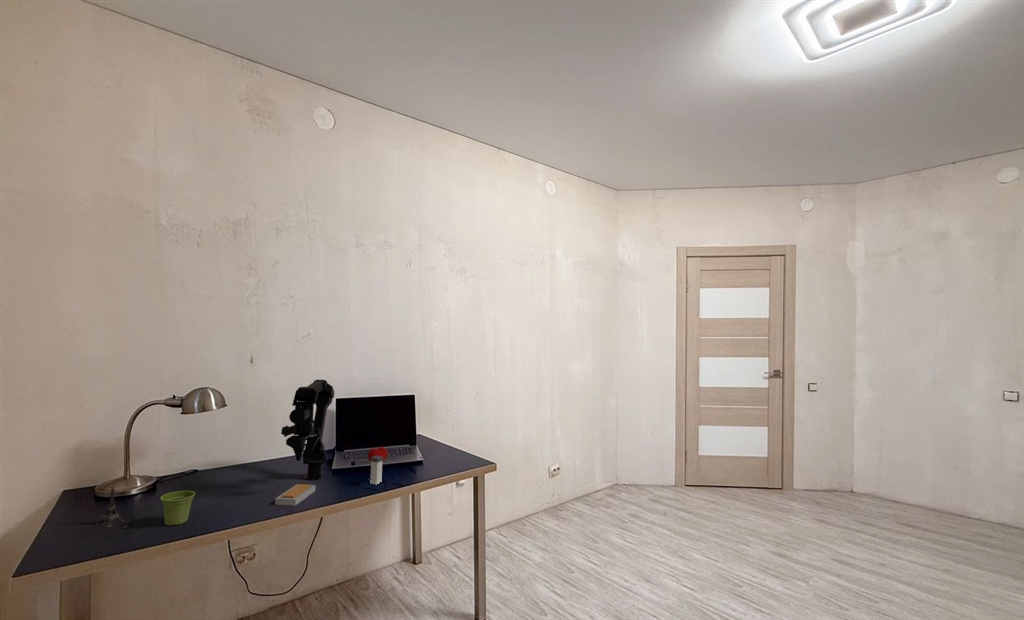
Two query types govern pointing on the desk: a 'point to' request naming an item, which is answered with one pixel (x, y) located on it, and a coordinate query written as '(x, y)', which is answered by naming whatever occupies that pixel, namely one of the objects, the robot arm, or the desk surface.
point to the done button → (295, 491)
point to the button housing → (297, 499)
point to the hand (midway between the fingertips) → (304, 457)
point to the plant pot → (177, 506)
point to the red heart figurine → (378, 453)
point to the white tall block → (376, 470)
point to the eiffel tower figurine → (110, 512)
